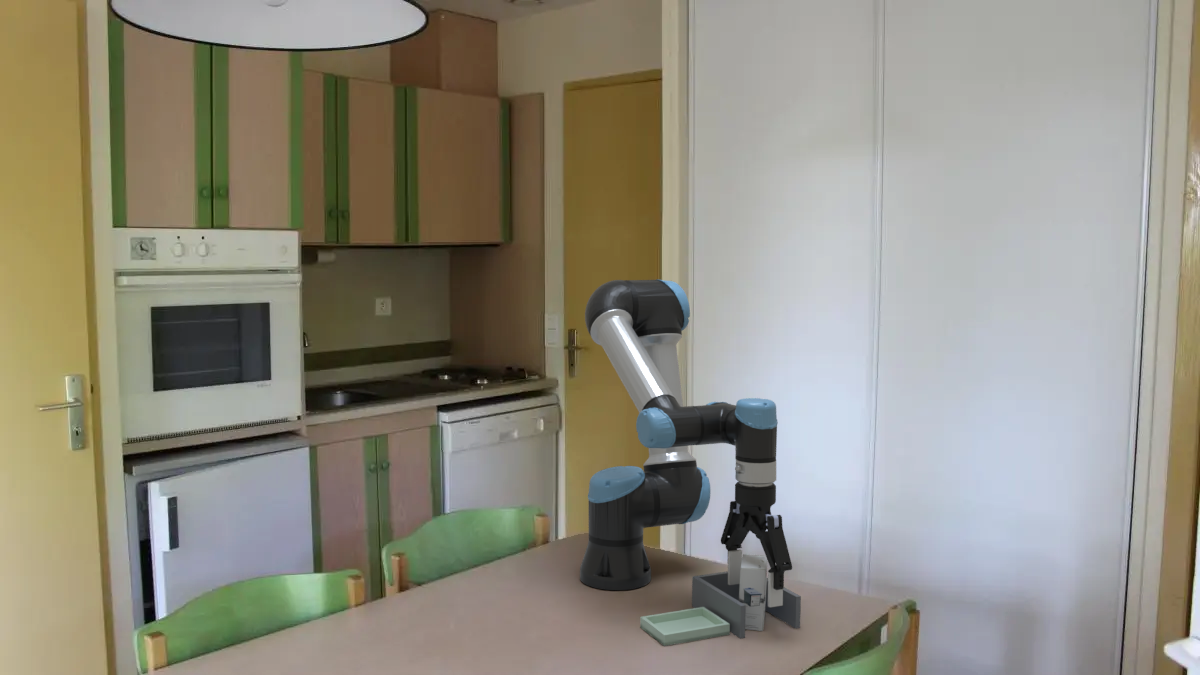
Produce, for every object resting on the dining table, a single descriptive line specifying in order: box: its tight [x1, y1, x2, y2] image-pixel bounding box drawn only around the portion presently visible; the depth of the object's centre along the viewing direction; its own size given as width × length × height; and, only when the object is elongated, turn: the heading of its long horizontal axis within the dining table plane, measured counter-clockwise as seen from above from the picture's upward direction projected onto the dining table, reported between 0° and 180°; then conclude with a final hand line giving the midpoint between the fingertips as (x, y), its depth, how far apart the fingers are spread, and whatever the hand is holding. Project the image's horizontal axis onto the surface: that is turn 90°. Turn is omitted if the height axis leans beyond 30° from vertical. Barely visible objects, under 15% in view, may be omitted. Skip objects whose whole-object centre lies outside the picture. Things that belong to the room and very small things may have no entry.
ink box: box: [739, 553, 768, 632], centre depth 179 cm, size 9×5×12 cm, turn 168°
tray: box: [639, 607, 731, 647], centre depth 174 cm, size 9×13×2 cm
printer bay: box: [691, 570, 802, 640], centre depth 181 cm, size 18×13×6 cm
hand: (754, 594), depth 178 cm, fingers open, 13 cm apart
